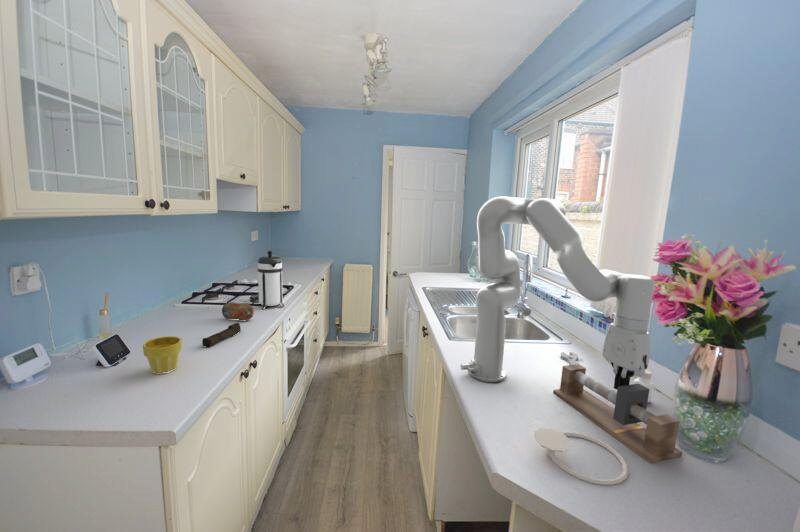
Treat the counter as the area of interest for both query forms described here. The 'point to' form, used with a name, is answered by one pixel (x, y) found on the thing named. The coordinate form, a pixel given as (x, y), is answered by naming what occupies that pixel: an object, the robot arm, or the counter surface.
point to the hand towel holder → (561, 443)
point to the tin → (237, 311)
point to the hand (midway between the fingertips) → (620, 389)
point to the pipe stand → (643, 441)
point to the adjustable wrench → (570, 358)
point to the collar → (629, 402)
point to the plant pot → (162, 353)
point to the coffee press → (270, 280)
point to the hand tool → (221, 335)
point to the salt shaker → (646, 383)
